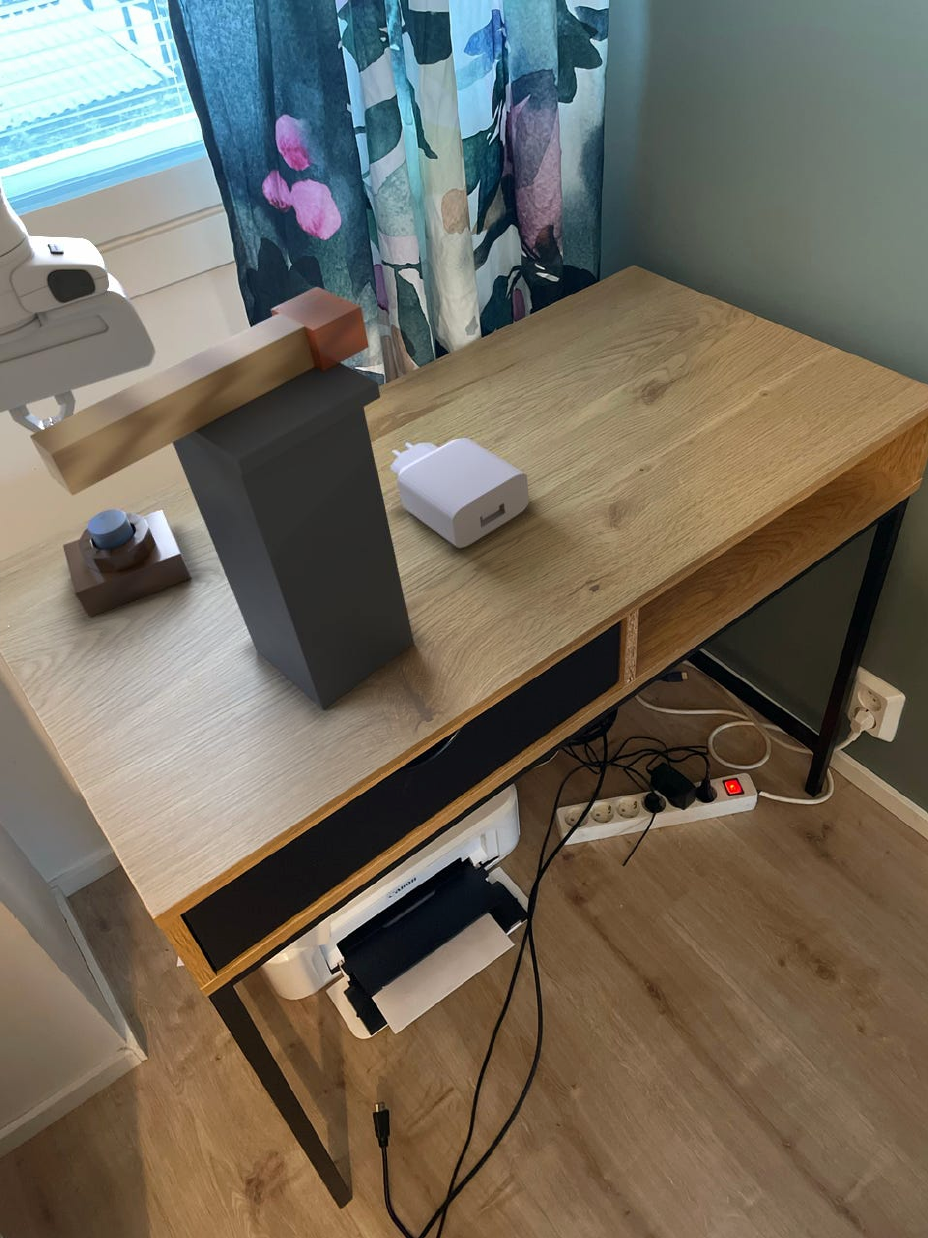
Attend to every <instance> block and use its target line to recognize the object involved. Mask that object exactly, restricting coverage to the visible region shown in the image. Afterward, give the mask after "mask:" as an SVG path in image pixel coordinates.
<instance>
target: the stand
mask: <svg viewBox="0 0 928 1238" xmlns="http://www.w3.org/2000/svg"><path fill="white" fill-rule="evenodd" d="M380 398H381V392H380V388H379V383H378V381H376V380H374V379H373V378H370V377H368V376H367V375H365V374H363V373H361V372H359V371H357V370H355V369H353V368H352V367H349V366H347V365H346V364H344V363H342V362H340V363H338V364H337V365H335V366H333V367H331V368H329V369H327V370H325V371H321V370H320V369H318V368H316V367H313V368H312V369H310V370H308V371H306V372H304V373H302V374H300V375H298V376H296V377H295V378H293V379H291V380H289V381H287V382H285V383H283V384H281V385H280V386H278V387H276V388H274V389H272V390H270V391H268V392H266V393H265V394H263V395H261V396H259V397H257V398H255V399H253V400H251V401H250V402H248V403H246V404H244V405H242V406H240V407H238V408H236V409H235V410H233V411H231V412H229V413H227V414H225V415H223V416H221V417H220V418H218V419H216V420H214V421H212V422H210V423H208V424H206V425H205V426H203V427H201V428H199V429H197V430H195V431H193V432H191V433H190V434H188V435H186V436H184V437H182V438H180V439H178V440H176V441H175V442H173V443H172V446H173V448H174V450H175V452H176V455H177V458H178V460H179V463H180V465H181V467H182V470H183V472H184V475H185V477H186V479H187V482H188V485H189V488H190V490H191V492H192V495H193V497H194V500H195V503H196V505H197V507H198V510H199V512H200V515H201V517H202V519H203V522H204V525H205V527H206V530H207V531H208V534H209V537H210V539H211V542H212V545H213V547H214V550H215V552H216V554H217V557H218V559H219V562H220V564H221V566H222V569H223V572H224V574H225V577H226V579H227V582H228V584H229V586H230V589H231V592H232V594H233V596H234V599H235V601H236V604H237V607H238V609H239V612H240V614H241V616H242V619H243V621H244V624H245V626H246V629H247V631H248V634H249V636H250V639H251V642H252V644H253V646H254V649H255V651H256V652H257V653H258V654H259V655H260V656H262V657H263V658H264V659H265V660H266V661H267V662H268V663H270V664H271V665H272V666H273V667H274V668H275V670H277V671H279V673H281V675H283V676H284V677H285V678H286V679H287V680H288V681H290V683H292V684H293V685H294V686H295V687H296V688H297V689H299V690H300V691H301V692H302V693H303V694H304V695H305V696H306V697H308V698H309V700H311V701H312V702H313V704H315V705H316V706H317V707H318V708H320V709H321V710H322V711H325V710H326V709H327V708H328V707H329V706H331V705H333V704H334V703H335V702H337V701H338V700H339V699H340V698H342V697H343V696H344V695H346V694H347V693H348V692H350V691H351V690H352V689H354V688H355V687H357V686H358V685H359V684H361V683H362V682H363V681H365V680H366V679H368V678H369V677H370V676H372V675H373V674H374V673H375V672H377V671H378V670H380V669H381V668H382V667H384V666H385V665H386V664H388V663H389V662H391V661H392V660H393V659H394V658H396V657H397V656H399V655H400V654H402V653H403V652H404V651H405V650H407V649H408V648H410V647H411V646H412V645H413V644H414V643H415V641H414V637H413V631H412V628H411V627H412V626H411V622H410V617H409V613H408V609H407V603H406V598H405V595H404V594H405V593H404V590H403V584H402V580H401V576H400V571H399V567H398V561H397V557H396V553H395V548H394V542H393V537H392V533H391V529H390V524H389V520H388V514H387V510H386V506H385V505H386V504H385V500H384V496H383V492H382V487H381V481H380V477H379V473H378V468H377V463H376V458H375V454H374V453H375V452H374V449H373V443H372V440H371V435H370V430H369V425H368V421H367V417H366V411H365V407H367V406H369V405H370V404H371V403H373V402H376V401H377V400H379V399H380Z"/></svg>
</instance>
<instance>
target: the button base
mask: <svg viewBox="0 0 928 1238" xmlns="http://www.w3.org/2000/svg"><path fill="white" fill-rule="evenodd" d="M124 513H125V514H126V517H127V519H128V521H129V523H130V525H131V527H132V529H133V531H134V535H133V538H132V539H131V540H129V541H128V542H127V543H126V544H124V545H123V546H120V547H117V548H115V549H112V550H101V549H99V548H98V547H97V546H96V544H95V542H94V540H93V538H92V536H91V535H90V533H89V531H88V528H86V529H84V531H82V534H81V536H80V538H79V539H76V540H73V541H70V542H68V543H64V544H63V545H62V548H63V552H64V557H65V560H66V563H67V567H68V572H69V575H70V580H71V583H72V587H73V591H74V594H75V596H76V597H77V600H78V601H79V603H80V605H81V606H82V608H83V610H84V611H85V613H86V615H87V617H88V618H91V617H93V616H96V615H99V614H102V613H105V612H107V611H109V610H112V609H115V608H117V607H119V606H120V607H121V606H122V605H125V604H128V603H130V602H133V601H135V600H138V599H141V598H144V597H146V596H149V595H151V594H153V593H156V592H159V591H162V590H164V589H167V588H169V587H172V586H174V585H177V584H180V583H183V582H185V581H187V580H190V579H192V576H191V573H190V571H189V569H188V566H187V563H186V561H185V559H184V556H183V554H182V552H181V548H180V546H179V545H178V541H177V539H176V536H175V534H174V532H173V530H172V527H171V525H170V523H169V520H168V518H167V516H166V514H165V511H164V509H158V510H157V511H152V512H151V513H148V514H145V515H143V516H142V515H139V514H137V513H135V512H124Z"/></svg>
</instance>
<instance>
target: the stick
mask: <svg viewBox="0 0 928 1238" xmlns="http://www.w3.org/2000/svg"><path fill="white" fill-rule="evenodd" d="M270 312H271V315H272V316H271V317H269V318H267V319H265V320H263V321H260V322H258V323H256V324H255V325H252V326H251V327H249V328H247V329H244V330H242V331H240V332H238V333H237V334H235V335H232V336H230V337H228V338H226V339H224V340H222V341H220V342H218V343H216V344H214V345H211V346H210V347H208V348H206V349H204V350H202V351H199V352H198V353H195V354H194V355H191V356H189V357H188V358H185V359H183V360H181V361H179V362H177V363H175V364H172V365H171V366H169V367H167V368H165V369H163V370H161V371H159V372H157V373H155V374H152V375H150V376H148V377H147V378H145V379H143V380H140V381H138V382H137V383H135V384H132V385H130V386H129V387H126V388H124V389H122V390H120V391H119V392H116V393H114V394H112V395H109V396H108V397H107V398H104V399H102V400H100V401H98V402H96V403H94V404H91V405H89V406H88V407H86V408H84V409H81V410H79V411H77V412H75V413H73V415H71V416H69V417H67V418H65V419H63V420H61V421H59V422H57V423H55V424H53V425H51V426H49V427H47V428H45V429H43V430H41V431H39V432H37V433H32V434H30V435H29V437H30V439H31V442H32V443H33V445H34V447H35V448H36V450H37V452H38V454H39V456H40V458H41V460H42V462H43V464H44V466H45V467H46V469H47V472H48V473H49V475H50V477H51V478H52V479H53V480H54V481H56V482H57V483H58V484H59V485H60V486H61V487H62V488H64V490H65V491H67V492H68V493H69V494H70V495H71V496H75V495H77V494H79V493H81V492H82V491H84V490H87V489H88V488H90V487H92V486H94V485H96V484H97V483H100V482H101V481H103V480H106V479H107V478H109V477H110V476H113V475H115V474H117V473H118V472H120V471H122V470H124V469H126V468H128V467H130V466H132V465H133V464H135V463H138V462H139V461H142V460H143V459H144V458H147V457H149V456H150V455H152V454H155V453H156V452H158V451H159V450H161V449H164V448H165V447H168V446H169V445H171V444H173V442H175V441H176V440H178V439H180V438H182V437H184V436H186V435H188V434H190V433H191V432H193V431H195V430H197V429H199V428H201V427H203V426H205V425H206V424H208V423H210V422H212V421H214V420H216V419H218V418H220V417H221V416H223V415H225V414H227V413H229V412H231V411H233V410H235V409H236V408H238V407H240V406H242V405H244V404H246V403H248V402H250V401H251V400H253V399H255V398H257V397H259V396H261V395H263V394H265V393H266V392H268V391H270V390H272V389H274V388H276V387H278V386H280V385H281V384H283V383H285V382H287V381H289V380H291V379H293V378H295V377H296V376H298V375H300V374H302V373H304V372H306V371H308V370H310V369H312V368H313V367H316V368H318V369H320V370H321V371H325V370H327V369H329V368H331V367H333V366H335V365H337V364H338V363H342V362H344V361H346V360H348V359H350V358H351V357H354V356H355V355H357V354H359V353H361V352H363V351H365V350H366V349H368V348H369V347H370V346H369V340H368V335H367V330H366V325H365V320H364V314H363V310H362V306H361V305H359V304H357V303H355V302H353V301H350V300H348V299H345V298H343V297H342V296H338V295H337V294H334V293H332V292H330V291H327V290H326V289H324V288H321V287H319V286H316V287H315V286H314V287H313V288H311V289H309V290H307V291H305V292H303V293H301V294H299V295H297V296H295V297H293V298H291V299H289V300H287V301H284V302H283V303H280V304H278V305H276V306H274V307H272V308H270Z"/></svg>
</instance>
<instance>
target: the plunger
mask: <svg viewBox="0 0 928 1238" xmlns="http://www.w3.org/2000/svg"><path fill="white" fill-rule="evenodd" d="M125 513H126V512H124V511H122V510H121V509H114V508H113V509H107V510H103V511H101V512H98V513H97V514H95V515H94V516H93V517H91V518H90V520H89V521H88V523H87V528H88V531H89V533H90V535H91V536H92V538H93V540H94V542H95V544H96V546H97V547H98V548H99V549H101V550H112V549H115V548H117V547H120V546H123V545H124V544H126V543H127V542H128V541H129V540H131V539H132V538H133V535H134V531H133V529H132V527H131V525H130V523H129V521H128V519H127V517H126V514H125ZM87 528H86V529H87Z"/></svg>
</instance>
